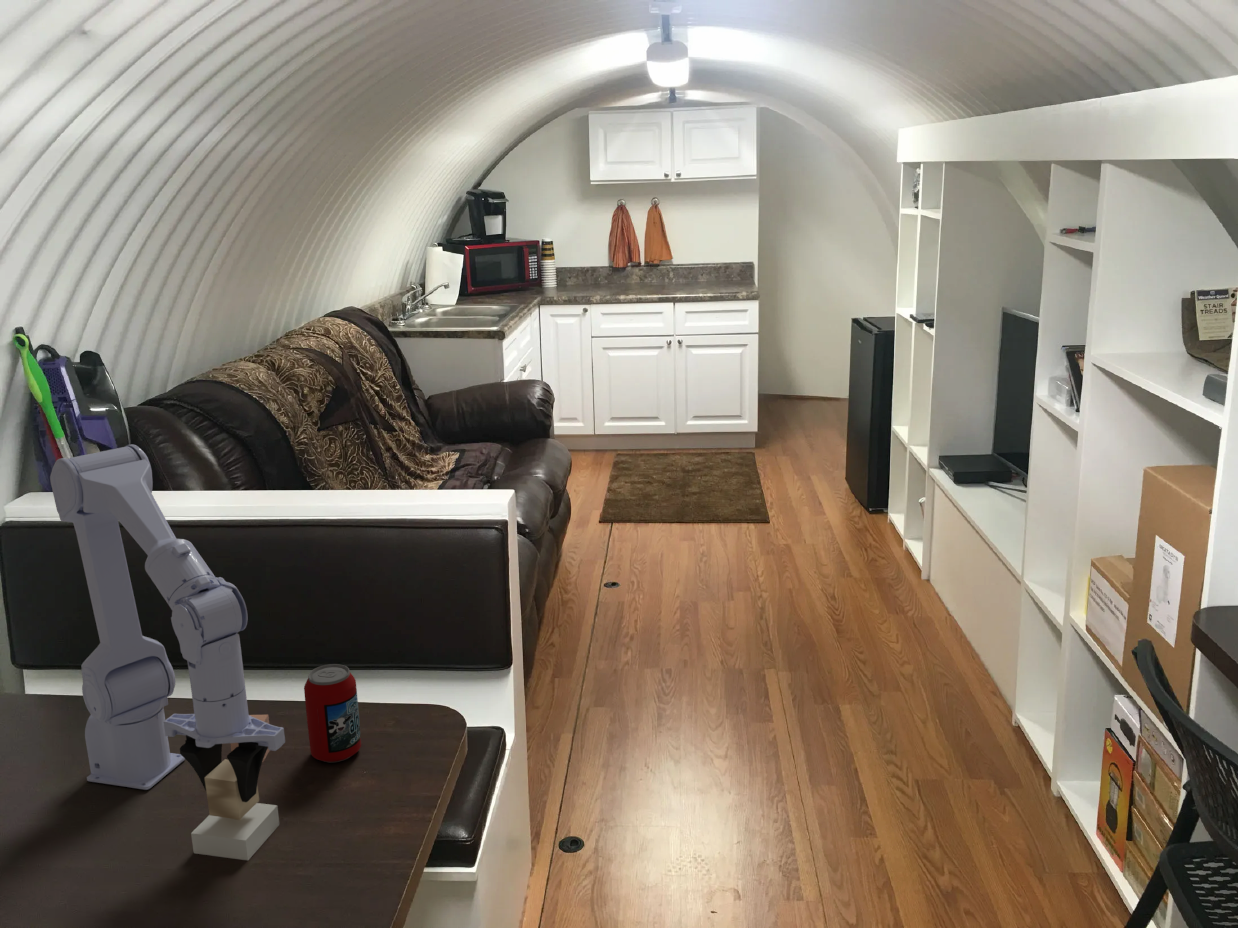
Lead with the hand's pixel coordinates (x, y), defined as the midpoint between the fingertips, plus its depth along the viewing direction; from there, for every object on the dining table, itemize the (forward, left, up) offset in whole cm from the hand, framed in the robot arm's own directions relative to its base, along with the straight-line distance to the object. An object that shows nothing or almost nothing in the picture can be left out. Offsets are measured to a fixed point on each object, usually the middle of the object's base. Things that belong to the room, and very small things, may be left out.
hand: (231, 794), depth 122 cm
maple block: (0, 0, -2) cm, 2 cm away
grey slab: (0, 0, -6) cm, 6 cm away
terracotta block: (-9, +17, -6) cm, 20 cm away
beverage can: (+2, +20, -6) cm, 21 cm away
